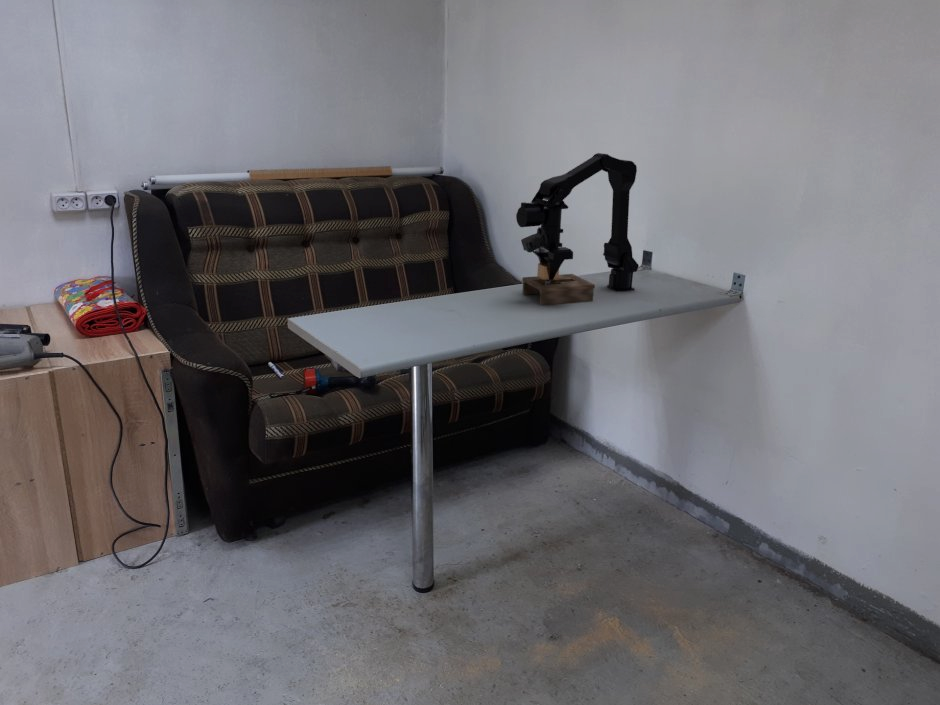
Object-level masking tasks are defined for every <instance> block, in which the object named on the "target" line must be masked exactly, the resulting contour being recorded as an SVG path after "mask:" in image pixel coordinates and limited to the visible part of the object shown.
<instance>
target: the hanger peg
mask: <svg viewBox="0 0 940 705" xmlns="http://www.w3.org/2000/svg"><path fill="white" fill-rule="evenodd" d="M559 275H560V268H559V269H558V271H557V273H556V275H555V277H554V278H553V279H559ZM536 276H537V277H539V278H541V279H543V280H545V285H550V279H549V268H548V263H540V262H539V263H537V275H536ZM538 294H540V290H539V293H538Z"/></svg>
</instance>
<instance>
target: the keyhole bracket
mask: <svg viewBox="0 0 940 705" xmlns="http://www.w3.org/2000/svg"><path fill="white" fill-rule="evenodd" d="M521 280H522V295H525V296H526V295H537V294H539V305H540V306H544V305H545V306H546V305H558V304H569V303H571V304H572V303H581V302H582V303H583V302H592V301H593V300H594V289H595V287H596V285H595V283H592V282H590V281H588V280H586V279H584V278H582V277H579V276H577V275H575V274H574V273H565V274H564V273H563V274H559V279H550V285H545V280H543V279H541V278H539V277H537V275H535V276H526V277H525V276H523V277H522V279H521ZM539 290H540V293H539Z"/></svg>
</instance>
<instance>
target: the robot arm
mask: <svg viewBox="0 0 940 705" xmlns="http://www.w3.org/2000/svg"><path fill="white" fill-rule="evenodd" d="M637 167H638V166H637V164H636V163H635V162H634V161H632V160H627V159H619V158H616V157H614V156H611V155H609V154H608V153H600V152H598V153H595V154H593V155H592V156H591V157H590V158H589V159H587V160H585V161H583V162H582V163H580V164H578V165H576V167H574V168H572V169H570V170H569V171H567V172H566V173H563V174H562V175H557V176H553V177H549V178H547V179H545V180H543V181H542V182H541V183H540V186H539V188H538V191H537V192H536V193H535V195H534V197H533V198H532V199H531V200H530V202H525V201H524V202H520V207H519V208H518V209H517V213H516V216H515V217H516V222H517V225H518V226H519V227H520V228H527V227H530V228H531V227H537V229H536V233H533V234H530V235H528V236H526V237H524V238H521V245H522V249H523V251H526V252H527V253H533V254H534V255H535V256H537V258H538V261H539V263H548V268H549V279H553V278H554V277H555V275H556V273H557V271H558V269H559V270H560V267H561V266H562V265H563V263H564V262H565V260H566V261H567V260H573V259H574V251H573V250H572V249H571V248H568V247H566V246H563V243H562V242H561V234H563V233H564V229H563V228H562V226H561V225H562V210H568V209H569V206H568V205H567V204H566V202H565V201H564V200H565V199H566V198H567V197H568V196H569V195H570V194H571V193H572V191H573V190H574V188H575V187H577V186H579V185H580V184H581V183H583V182H584V181H586V180H588V179H589V178H591V177H592V176H594V175H596V174H598V173H600V172H601V171H603V172H605V173H607V177H608V182H609V184H610V187H611V189H612V203H611V204H612V208H611V210H612V211H611V230H610V231H611V232H610V234H611V235H610V238H609V239H608V242H604V243H603V254H602V256H604V260H605V261H606V264H607V268H610V273H609V277H608V284H607V285H606V287H607V288H608V289H611V290H612V291H615V292H625V291H628V292H629V291H634V290H635V287H633V286H632V285H633V277H634V273H635V272H637V271H638V269H639V267H640V266H639V264H638V263H637V261H636V259H634V257H633V247H632V245H631V243H630V241H629V236H628V232H629V210H630V209H629V208H630V192H631V189H632V188H633V186H634V183H635V182H636V176H637V171H638V169H637Z"/></svg>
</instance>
